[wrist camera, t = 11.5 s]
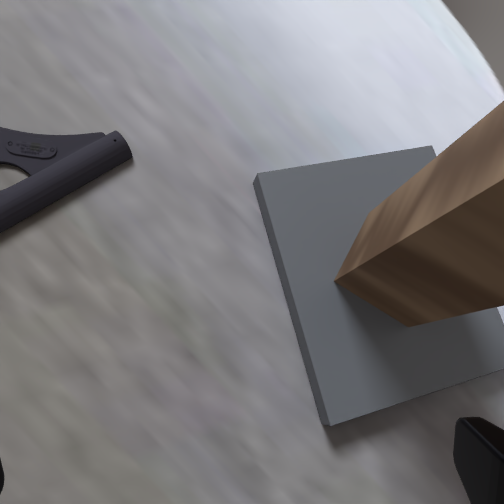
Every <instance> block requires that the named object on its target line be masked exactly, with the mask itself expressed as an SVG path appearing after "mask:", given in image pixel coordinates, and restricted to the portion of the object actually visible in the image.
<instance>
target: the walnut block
mask: <svg viewBox="0 0 504 504" xmlns="http://www.w3.org/2000/svg"><path fill="white" fill-rule="evenodd" d="M334 282H336V283H337V284H339V285H341V286H342V287H344V288H346V289H347V290H349V291H350V292H352V293H354V294H355V295H357V296H358V297H360V298H362V299H363V300H365V301H367V302H368V303H370V304H371V305H373V306H375V307H376V308H378V309H379V310H381V311H383V312H384V313H386V314H388V315H389V316H391V317H392V318H394V319H396V320H397V321H399V322H400V323H402V324H404V325H405V326H407V327H412V326H416V325H421V324H425V323H430V322H434V321H438V320H443V319H447V318H451V317H456V316H460V315H464V314H469V313H473V312H477V311H482V310H486V309H490V308H495V307H499V306H503V305H504V101H503V102H502V103H501V104H499V105H498V106H497V107H496V108H495V109H493V110H492V111H491V112H490V113H489V114H487V115H486V116H485V117H484V118H483V119H481V120H480V121H479V122H478V123H477V124H475V125H474V126H473V127H472V128H470V129H469V130H468V131H467V132H466V133H464V134H463V135H462V136H461V137H460V138H458V139H457V140H456V141H455V142H454V143H452V144H451V145H450V146H449V147H448V148H446V149H445V150H444V151H443V152H442V153H440V154H439V155H438V156H437V157H436V158H434V159H433V160H432V161H431V162H430V163H428V164H427V165H426V166H425V167H424V168H422V169H421V170H420V171H419V172H418V173H416V174H415V175H414V176H413V177H412V178H410V179H409V180H408V181H407V182H406V183H404V184H403V185H402V186H401V187H399V188H398V189H397V190H396V191H395V192H393V193H392V194H391V195H390V196H389V197H387V198H386V199H385V200H384V201H383V202H381V203H380V204H379V205H378V206H377V207H375V208H374V209H373V210H372V211H371V212H369V214H368V215H367V217H366V219H365V221H364V223H363V225H362V227H361V229H360V231H359V233H358V235H357V237H356V239H355V241H354V243H353V245H352V247H351V248H350V250H349V252H348V254H347V256H346V258H345V260H344V262H343V264H342V266H341V268H340V270H339V272H338V274H337V276H336V278H335V280H334Z"/></svg>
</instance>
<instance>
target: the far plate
mask: <svg viewBox="0 0 504 504" xmlns="http://www.w3.org/2000/svg"><path fill="white" fill-rule="evenodd" d="M434 158H436V154H435V152H434V149H433V147H432V146H426V147H419V148H413V149H407V150H401V151H394V152H388V153H382V154H376V155H369V156H363V157H357V158H351V159H344V160H338V161H332V162H326V163H319V164H313V165H307V166H301V167H294V168H288V169H282V170H276V171H269V172H263V173H257V175H256V178H255V180H254V182H253V185H254V189H255V192H256V196H257V199H258V203H259V206H260V210H261V213H262V217H263V220H264V224H265V227H266V231H267V234H268V238H269V241H270V245H271V248H272V252H273V255H274V259H275V262H276V266H277V269H278V273H279V276H280V280H281V283H282V287H283V290H284V294H285V297H286V301H287V304H288V308H289V311H290V315H291V318H292V321H293V325H294V328H295V332H296V335H297V339H298V342H299V346H300V349H301V353H302V356H303V360H304V363H305V367H306V370H307V374H308V377H309V381H310V384H311V388H312V391H313V395H314V398H315V402H316V405H317V409H318V412H319V416H320V419H321V423H322V424H325V425H329V426H332V425H335V424H338V423H341V422H344V421H347V420H350V419H353V418H356V417H359V416H362V415H366V414H369V413H372V412H375V411H378V410H381V409H384V408H387V407H390V406H393V405H396V404H399V403H402V402H405V401H408V400H411V399H414V398H417V397H420V396H423V395H426V394H429V393H432V392H435V391H438V390H441V389H444V388H447V387H450V386H453V385H456V384H459V383H462V382H465V381H468V380H471V379H474V378H477V377H480V376H483V375H486V374H489V373H492V372H495V371H498V370H501V369H504V324H503V321H502V319H501V316H500V314H499V311H498V309H497V307H495V308H490V309H486V310H482V311H477V312H473V313H469V314H464V315H460V316H456V317H451V318H447V319H443V320H438V321H434V322H430V323H425V324H421V325H416V326H412V327H407V326H405V325H404V324H402V323H400V322H399V321H397V320H396V319H394V318H392V317H391V316H389V315H388V314H386V313H384V312H383V311H381V310H379V309H378V308H376V307H375V306H373V305H371V304H370V303H368V302H367V301H365V300H363V299H362V298H360V297H358V296H357V295H355V294H354V293H352V292H350V291H349V290H347V289H346V288H344V287H342V286H341V285H339V284H337V283H336V282H334V280H335V278H336V276H337V274H338V272H339V270H340V268H341V266H342V264H343V262H344V260H345V258H346V256H347V254H348V252H349V250H350V248H351V247H352V245H353V243H354V241H355V239H356V237H357V235H358V233H359V231H360V229H361V227H362V225H363V223H364V221H365V219H366V217H367V215H368V214H369V212H371V211H372V210H373V209H374V208H375V207H377V206H378V205H379V204H380V203H381V202H383V201H384V200H385V199H386V198H387V197H389V196H390V195H391V194H392V193H393V192H395V191H396V190H397V189H398V188H399V187H401V186H402V185H403V184H404V183H406V182H407V181H408V180H409V179H410V178H412V177H413V176H414V175H415V174H416V173H418V172H419V171H420V170H421V169H422V168H424V167H425V166H426V165H427V164H428V163H430V162H431V161H432V160H433V159H434Z"/></svg>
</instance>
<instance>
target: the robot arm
mask: <svg viewBox="0 0 504 504" xmlns="http://www.w3.org/2000/svg"><path fill="white" fill-rule="evenodd" d="M453 457H454V463H455V466H456V469H457V471H458V474H459V476H460V478H461V481H462V483H463V486H464V488H465V490H466V493H467V495H468V497H469V500H470V502H471V504H504V430H503V429H501V428H499V427H497V426H495V425H494V424H492V423H490V422H488V421H486V420H484V419H483V418H480V417H465V418H459V419H458V420H457V422H456V426H455V438H454V450H453ZM3 485H4V472H3V467H2V463H1V459H0V494H1V491H2V489H3Z"/></svg>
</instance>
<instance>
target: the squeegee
mask: <svg viewBox="0 0 504 504" xmlns="http://www.w3.org/2000/svg"><path fill="white" fill-rule="evenodd" d="M130 158H132V153H131V150H130V148H129V146H128V144H127V142H126V141H125V139H124V138H123V137H122V135H121V134H120V133H119V132H118V131H113V132H112V133H110V134H108V135H105V134H104V133H102V132H99V133H89V134H79V135H43V134H33V133H26V132H20V131H15V130H10V129H6V128H2V127H0V164H9V165H13V166H16V167H19V168H21V169H22V170H24V171H25V172H27V173H28V174H29V175H30V177H28V178H26V179H24V180H22V181H21V182H19V183H17V184H15V185H13V186H11V187H9V188H6V189H4V190H1V191H0V233H1V232H3V231H5V230H6V229H8V228H10V227H12V226H13V225H15V224H17V223H19V222H20V221H22V220H24V219H26V218H27V217H29V216H31V215H32V214H34V213H36V212H38V211H39V210H41V209H43V208H45V207H46V206H48V205H50V204H52V203H53V202H55V201H57V200H59V199H60V198H62V197H64V196H66V195H67V194H69V193H71V192H73V191H74V190H76V189H78V188H80V187H81V186H83V185H85V184H87V183H88V182H90V181H92V180H93V179H95V178H97V177H99V176H100V175H102V174H104V173H106V172H107V171H109V170H111V169H113V168H114V167H116V166H118V165H120V164H121V163H123V162H125V161H127V160H128V159H130Z"/></svg>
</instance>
